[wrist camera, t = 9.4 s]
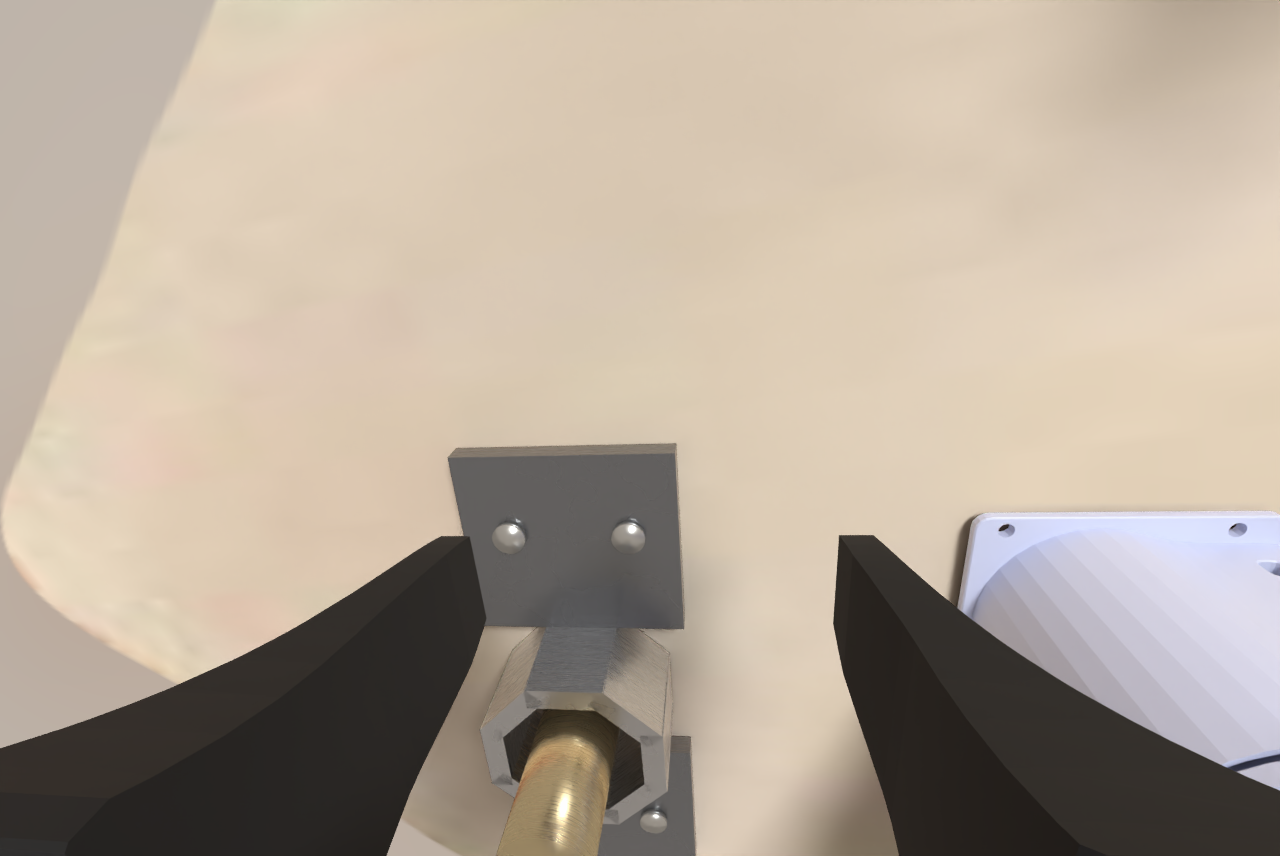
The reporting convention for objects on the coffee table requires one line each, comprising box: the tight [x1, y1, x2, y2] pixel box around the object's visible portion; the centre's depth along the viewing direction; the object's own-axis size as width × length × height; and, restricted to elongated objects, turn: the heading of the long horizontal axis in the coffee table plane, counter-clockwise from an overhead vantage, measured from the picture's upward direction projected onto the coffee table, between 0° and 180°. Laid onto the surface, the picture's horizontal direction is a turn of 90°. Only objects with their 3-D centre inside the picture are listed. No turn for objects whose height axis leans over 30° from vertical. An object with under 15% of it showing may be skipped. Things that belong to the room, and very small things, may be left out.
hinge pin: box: [496, 709, 619, 856], centre depth 22 cm, size 3×3×8 cm
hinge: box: [448, 444, 696, 856], centre depth 23 cm, size 21×8×4 cm, turn 4°
